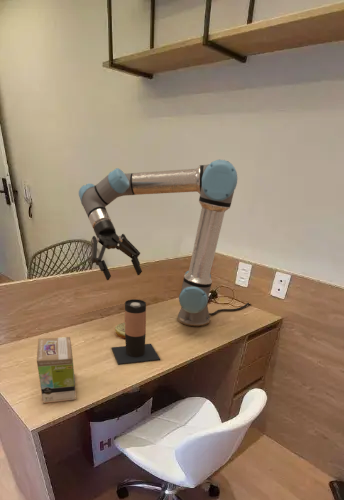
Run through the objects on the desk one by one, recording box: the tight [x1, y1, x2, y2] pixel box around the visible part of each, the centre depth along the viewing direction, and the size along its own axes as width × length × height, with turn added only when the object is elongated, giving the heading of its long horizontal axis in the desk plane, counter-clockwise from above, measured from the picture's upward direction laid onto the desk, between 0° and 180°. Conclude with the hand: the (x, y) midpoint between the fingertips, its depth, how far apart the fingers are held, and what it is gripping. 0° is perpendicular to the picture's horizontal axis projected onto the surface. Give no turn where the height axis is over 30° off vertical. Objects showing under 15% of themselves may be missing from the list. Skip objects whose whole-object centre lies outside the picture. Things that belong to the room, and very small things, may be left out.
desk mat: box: [111, 343, 161, 366], centre depth 130 cm, size 16×13×1 cm
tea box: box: [36, 336, 77, 404], centre depth 105 cm, size 15×10×15 cm, turn 17°
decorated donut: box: [114, 322, 125, 339], centre depth 144 cm, size 10×11×4 cm
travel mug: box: [124, 298, 147, 357], centre depth 125 cm, size 8×8×20 cm
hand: (124, 275), depth 127 cm, fingers open, 13 cm apart
